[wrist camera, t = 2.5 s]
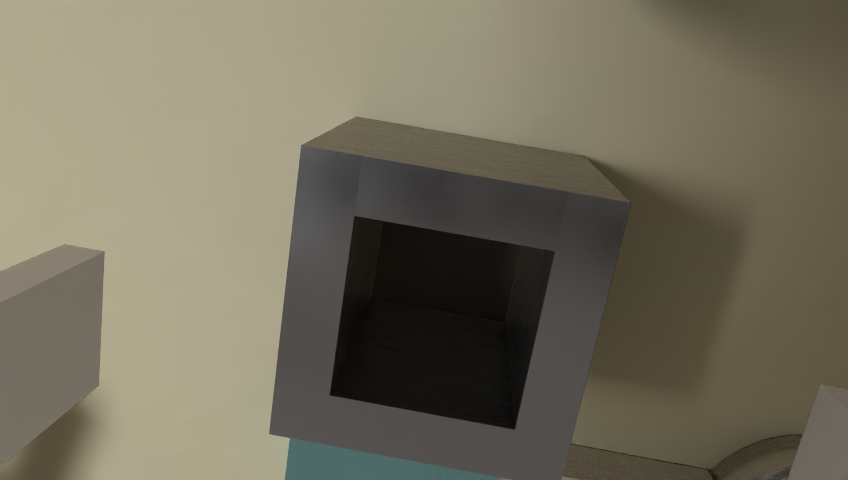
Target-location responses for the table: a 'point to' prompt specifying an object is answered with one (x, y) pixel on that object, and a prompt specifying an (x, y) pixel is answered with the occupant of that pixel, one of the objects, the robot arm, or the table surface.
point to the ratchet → (583, 473)
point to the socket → (436, 329)
